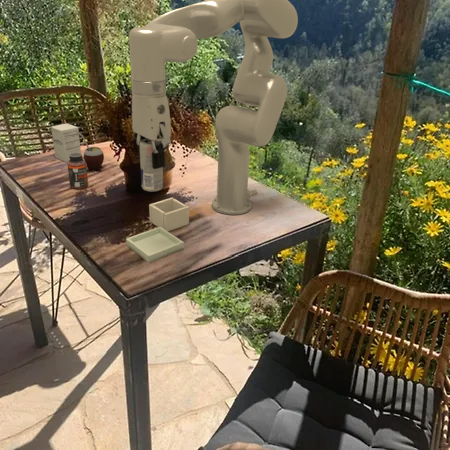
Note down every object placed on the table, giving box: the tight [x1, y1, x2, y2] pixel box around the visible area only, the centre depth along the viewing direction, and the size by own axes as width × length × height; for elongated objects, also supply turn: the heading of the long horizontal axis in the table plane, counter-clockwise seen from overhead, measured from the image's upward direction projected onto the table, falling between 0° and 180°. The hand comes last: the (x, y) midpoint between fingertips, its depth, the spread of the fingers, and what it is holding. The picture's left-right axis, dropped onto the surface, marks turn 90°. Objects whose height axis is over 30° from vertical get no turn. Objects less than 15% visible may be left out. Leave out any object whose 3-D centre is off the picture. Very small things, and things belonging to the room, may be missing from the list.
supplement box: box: [51, 123, 82, 163], centre depth 175 cm, size 7×7×13 cm
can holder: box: [148, 197, 190, 232], centre depth 132 cm, size 8×8×6 cm
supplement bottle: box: [66, 153, 89, 190], centre depth 151 cm, size 6×6×11 cm
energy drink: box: [138, 138, 164, 192], centre depth 110 cm, size 5×5×12 cm
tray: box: [125, 227, 185, 264], centre depth 120 cm, size 11×11×2 cm
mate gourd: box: [75, 131, 105, 173], centre depth 164 cm, size 8×8×15 cm
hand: (151, 163), depth 110 cm, fingers closed on energy drink, 5 cm apart
